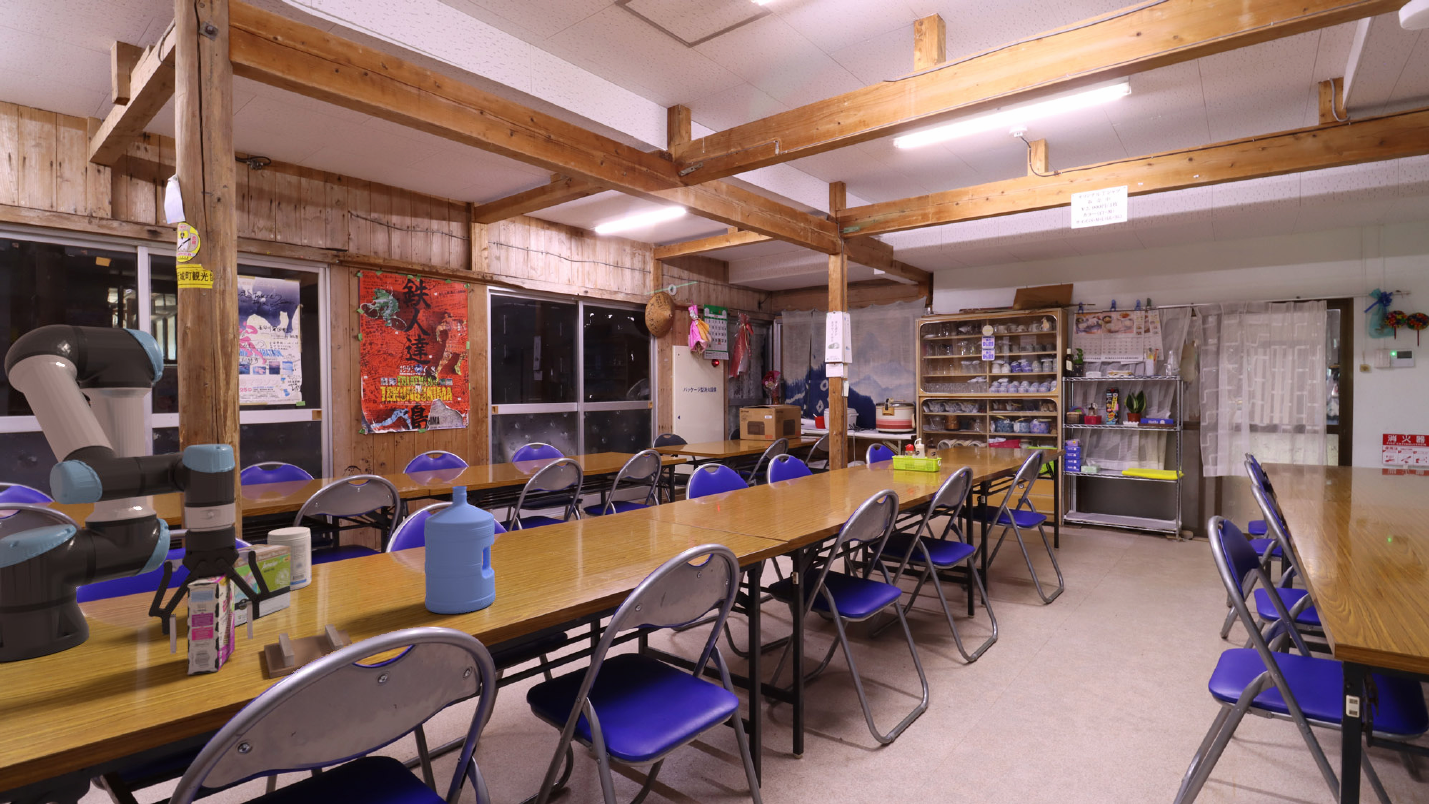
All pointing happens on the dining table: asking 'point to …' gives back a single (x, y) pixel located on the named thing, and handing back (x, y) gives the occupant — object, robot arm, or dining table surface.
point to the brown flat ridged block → (302, 650)
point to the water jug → (459, 557)
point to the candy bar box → (210, 623)
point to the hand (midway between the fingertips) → (212, 643)
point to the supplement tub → (295, 553)
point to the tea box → (275, 574)
